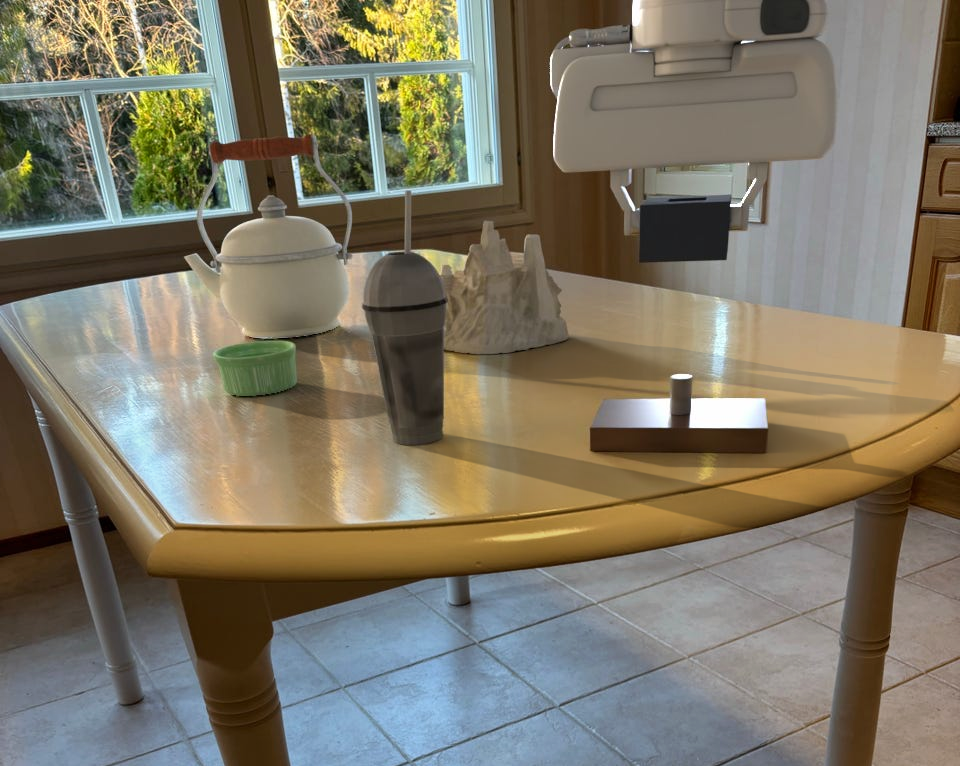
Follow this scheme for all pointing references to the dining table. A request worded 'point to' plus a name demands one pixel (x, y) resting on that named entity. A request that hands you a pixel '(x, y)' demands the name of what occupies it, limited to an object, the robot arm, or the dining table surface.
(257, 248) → the kettle
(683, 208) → the dark grey holed block
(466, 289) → the white castle figurine
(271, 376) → the ramekin
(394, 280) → the beverage cup
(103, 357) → the dining table surface
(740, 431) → the wooden peg base
